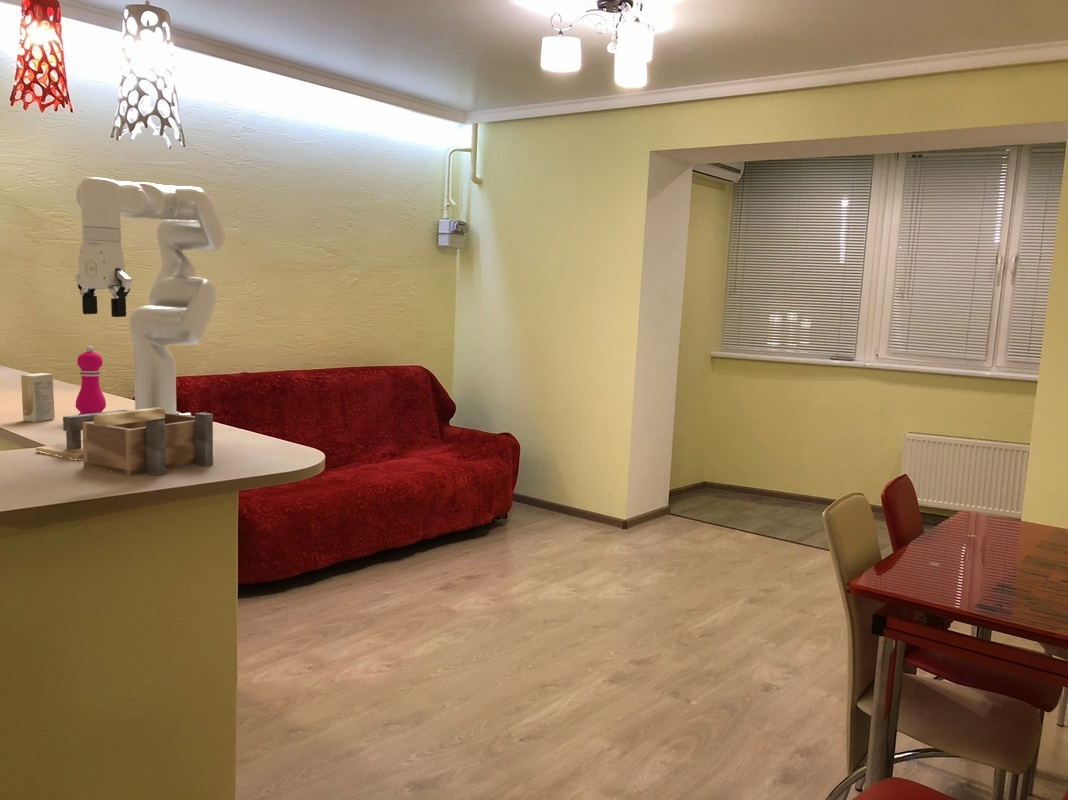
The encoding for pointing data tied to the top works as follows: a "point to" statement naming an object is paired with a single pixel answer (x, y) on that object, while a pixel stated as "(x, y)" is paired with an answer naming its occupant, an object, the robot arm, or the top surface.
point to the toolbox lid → (72, 436)
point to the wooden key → (129, 416)
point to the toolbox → (149, 444)
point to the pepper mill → (90, 383)
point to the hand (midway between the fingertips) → (104, 315)
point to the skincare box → (37, 397)
